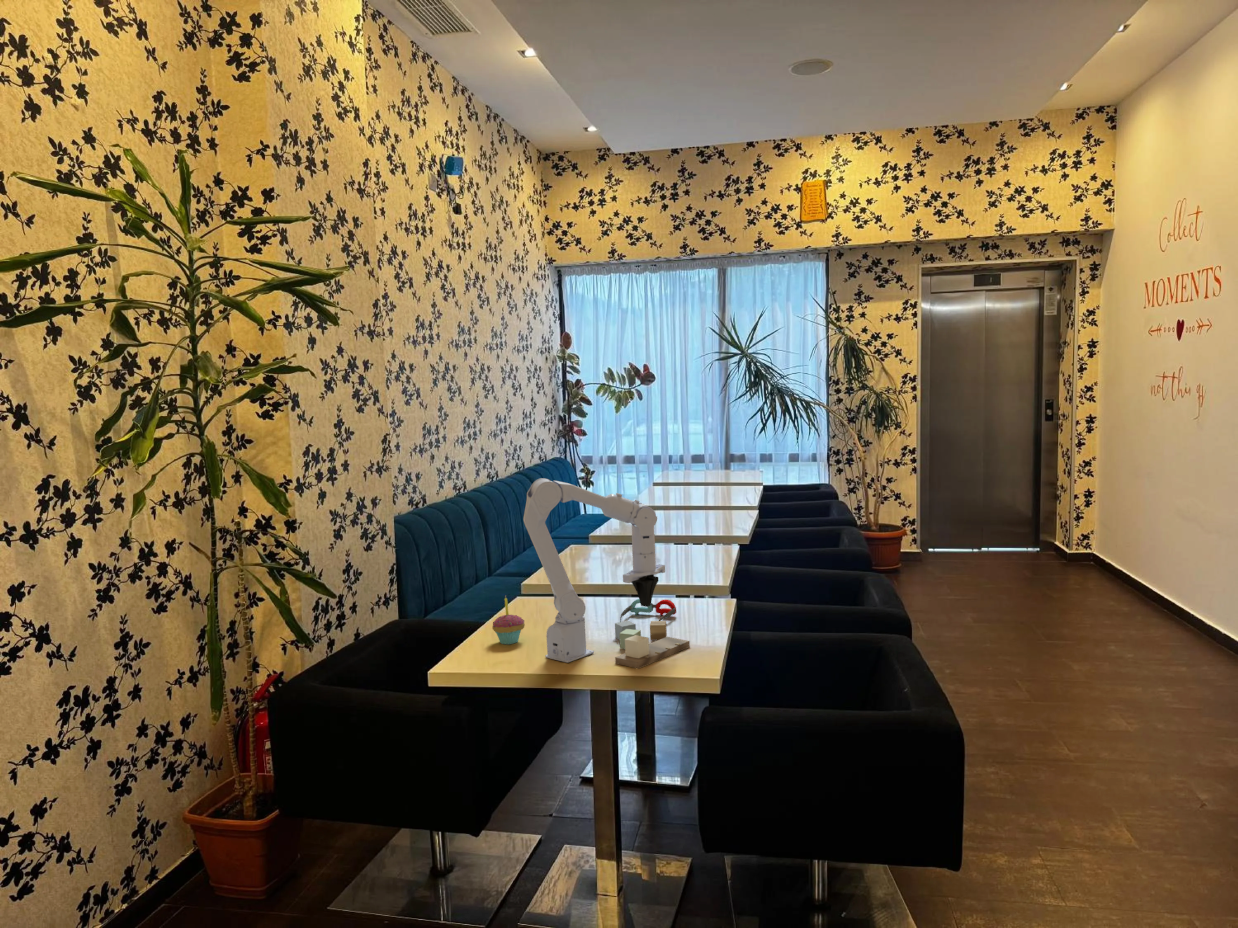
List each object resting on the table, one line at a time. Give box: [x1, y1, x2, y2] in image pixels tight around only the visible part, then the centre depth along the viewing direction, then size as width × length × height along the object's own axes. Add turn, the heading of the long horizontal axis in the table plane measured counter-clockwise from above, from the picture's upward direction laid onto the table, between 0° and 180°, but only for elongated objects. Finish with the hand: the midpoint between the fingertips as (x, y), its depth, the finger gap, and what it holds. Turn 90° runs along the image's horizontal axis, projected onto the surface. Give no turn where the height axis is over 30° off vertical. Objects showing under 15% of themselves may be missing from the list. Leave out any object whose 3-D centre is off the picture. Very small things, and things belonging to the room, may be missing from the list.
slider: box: [624, 635, 650, 659], centre depth 201 cm, size 4×4×4 cm
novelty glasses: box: [619, 598, 677, 622], centre depth 237 cm, size 14×15×5 cm
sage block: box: [619, 629, 642, 650], centre depth 213 cm, size 4×4×4 cm
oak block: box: [649, 620, 668, 641], centre depth 220 cm, size 4×4×4 cm
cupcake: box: [491, 595, 526, 645], centre depth 222 cm, size 9×8×12 cm
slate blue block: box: [614, 620, 637, 641], centre depth 221 cm, size 4×4×4 cm
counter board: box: [614, 636, 691, 669], centre depth 206 cm, size 20×7×2 cm, turn 139°
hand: (645, 605), depth 212 cm, fingers closed
